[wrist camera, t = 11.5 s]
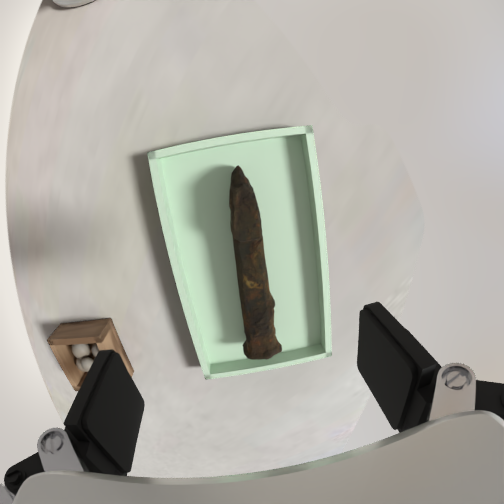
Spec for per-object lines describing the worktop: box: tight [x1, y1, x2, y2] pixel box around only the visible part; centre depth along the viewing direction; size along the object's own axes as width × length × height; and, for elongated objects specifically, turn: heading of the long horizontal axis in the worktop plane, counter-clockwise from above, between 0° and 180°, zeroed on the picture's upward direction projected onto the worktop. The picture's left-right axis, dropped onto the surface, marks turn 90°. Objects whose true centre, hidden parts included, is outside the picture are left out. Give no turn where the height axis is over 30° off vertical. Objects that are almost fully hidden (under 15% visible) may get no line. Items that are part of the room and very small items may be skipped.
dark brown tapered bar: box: [229, 165, 282, 360], centre depth 27 cm, size 19×4×5 cm, turn 5°
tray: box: [147, 125, 332, 379], centre depth 28 cm, size 25×15×2 cm, turn 9°
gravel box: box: [47, 318, 134, 391], centre depth 29 cm, size 8×8×4 cm
